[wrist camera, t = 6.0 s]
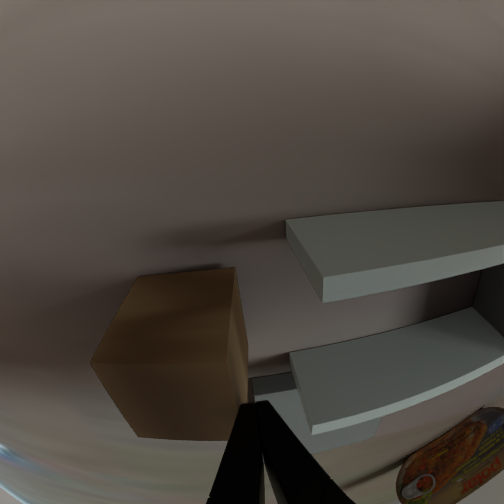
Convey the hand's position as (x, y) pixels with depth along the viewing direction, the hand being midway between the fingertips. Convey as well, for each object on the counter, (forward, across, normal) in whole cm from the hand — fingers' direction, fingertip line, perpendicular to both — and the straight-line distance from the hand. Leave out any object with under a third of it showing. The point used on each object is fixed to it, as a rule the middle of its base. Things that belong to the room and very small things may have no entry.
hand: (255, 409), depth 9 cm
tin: (+6, -20, +22) cm, 31 cm away
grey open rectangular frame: (+5, -9, 0) cm, 10 cm away
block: (+5, +2, 0) cm, 5 cm away
